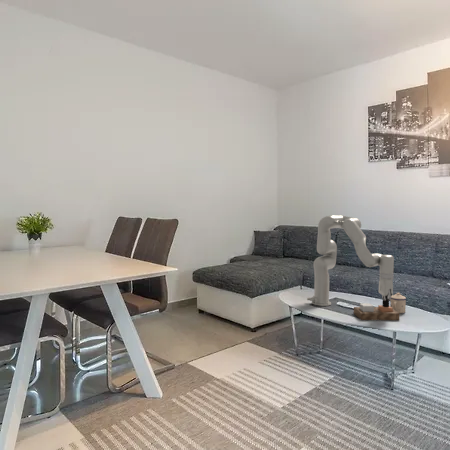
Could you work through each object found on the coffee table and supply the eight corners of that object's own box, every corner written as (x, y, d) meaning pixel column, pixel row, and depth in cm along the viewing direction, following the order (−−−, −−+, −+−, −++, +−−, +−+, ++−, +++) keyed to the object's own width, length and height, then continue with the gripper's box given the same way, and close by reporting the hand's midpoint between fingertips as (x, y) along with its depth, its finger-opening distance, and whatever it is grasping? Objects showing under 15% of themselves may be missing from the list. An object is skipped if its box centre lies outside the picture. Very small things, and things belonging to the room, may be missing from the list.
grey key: (363, 314, 225) (363, 306, 225) (359, 311, 231) (360, 303, 231) (373, 314, 225) (373, 306, 225) (369, 311, 231) (370, 303, 231)
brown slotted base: (361, 320, 222) (361, 313, 222) (353, 313, 235) (353, 307, 235) (399, 320, 222) (399, 313, 222) (389, 313, 235) (389, 307, 235)
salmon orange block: (382, 316, 225) (382, 308, 225) (378, 313, 231) (378, 305, 231) (392, 316, 225) (392, 308, 225) (388, 313, 231) (388, 305, 231)
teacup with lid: (392, 308, 246) (392, 290, 245) (407, 311, 240) (408, 292, 239) (386, 312, 237) (386, 294, 236) (402, 315, 231) (402, 296, 230)
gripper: (375, 273, 234) (374, 303, 235) (385, 278, 219) (384, 310, 220) (387, 273, 234) (386, 303, 235) (398, 278, 219) (397, 310, 220)
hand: (385, 306), depth 228 cm, fingers closed
